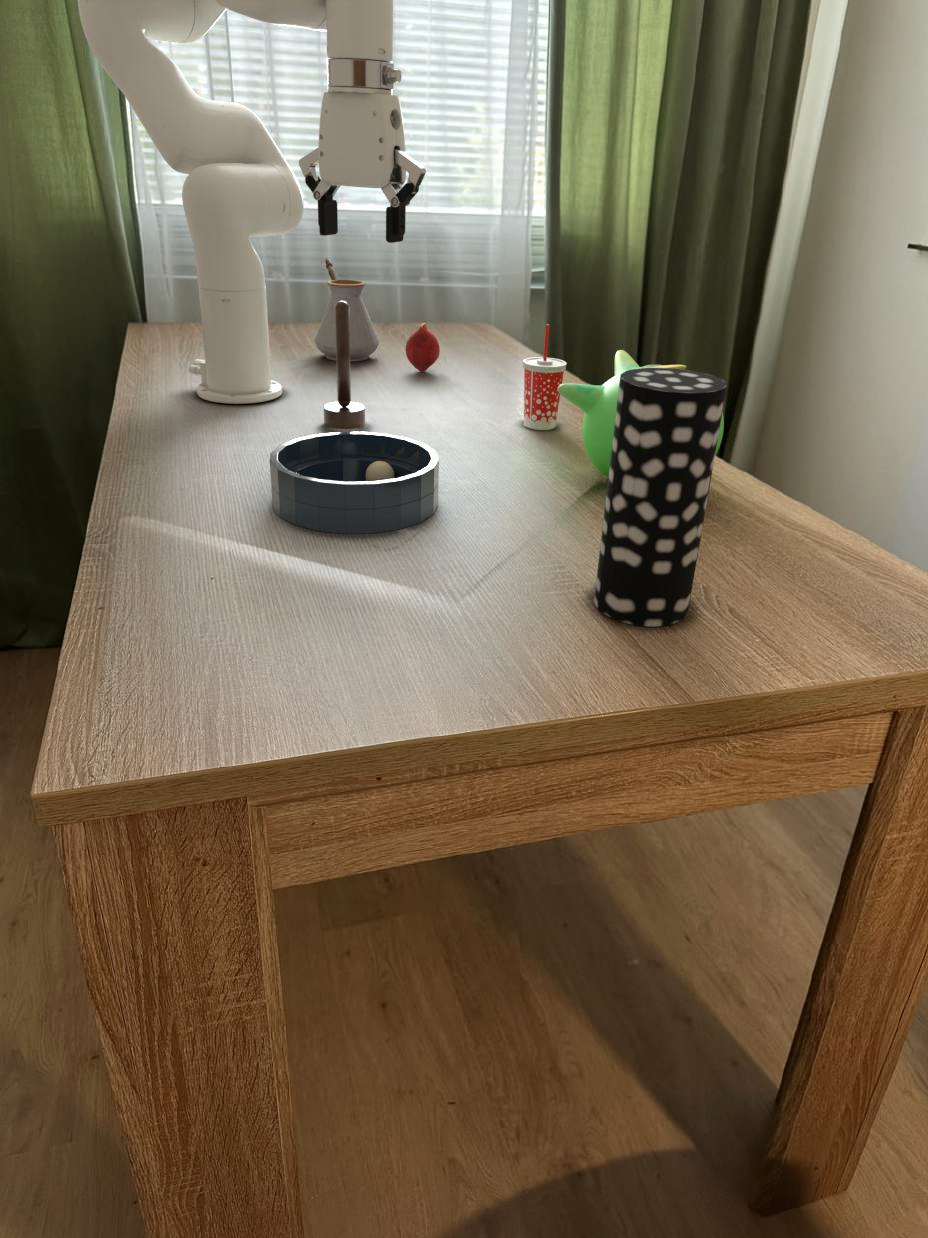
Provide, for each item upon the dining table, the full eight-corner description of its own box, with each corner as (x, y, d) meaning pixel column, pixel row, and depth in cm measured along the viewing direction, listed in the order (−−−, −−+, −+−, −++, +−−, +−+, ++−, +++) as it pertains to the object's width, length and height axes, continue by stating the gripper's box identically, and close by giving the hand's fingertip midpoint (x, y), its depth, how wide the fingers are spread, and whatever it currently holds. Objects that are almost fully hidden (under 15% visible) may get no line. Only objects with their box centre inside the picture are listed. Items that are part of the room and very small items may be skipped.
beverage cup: (569, 426, 132) (579, 325, 126) (543, 434, 128) (551, 330, 122) (536, 416, 136) (544, 318, 129) (509, 424, 132) (516, 323, 125)
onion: (434, 376, 156) (435, 327, 152) (401, 373, 157) (401, 325, 153) (442, 369, 161) (443, 321, 157) (410, 366, 162) (410, 319, 158)
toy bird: (681, 520, 101) (702, 386, 94) (544, 487, 108) (555, 361, 102) (731, 477, 114) (753, 357, 108) (607, 451, 122) (620, 337, 115)
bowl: (238, 518, 96) (234, 463, 94) (334, 472, 110) (332, 423, 108) (382, 554, 90) (382, 496, 87) (464, 500, 104) (466, 449, 101)
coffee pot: (386, 362, 163) (386, 273, 156) (322, 365, 160) (319, 273, 153) (357, 338, 181) (356, 257, 174) (299, 340, 177) (295, 257, 170)
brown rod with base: (316, 429, 126) (311, 301, 118) (339, 420, 130) (336, 295, 122) (350, 436, 124) (348, 306, 116) (372, 426, 128) (372, 300, 120)
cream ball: (360, 490, 103) (359, 462, 101) (375, 482, 106) (375, 455, 104) (384, 495, 102) (384, 468, 100) (399, 487, 104) (399, 460, 103)
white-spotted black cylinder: (585, 584, 85) (609, 366, 76) (672, 584, 86) (707, 368, 77) (605, 627, 78) (634, 391, 69) (700, 626, 79) (742, 393, 70)
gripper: (440, 83, 107) (436, 242, 115) (316, 79, 113) (320, 230, 121) (409, 79, 101) (406, 247, 109) (279, 75, 107) (286, 234, 115)
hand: (361, 237), depth 115 cm, fingers open, 9 cm apart
